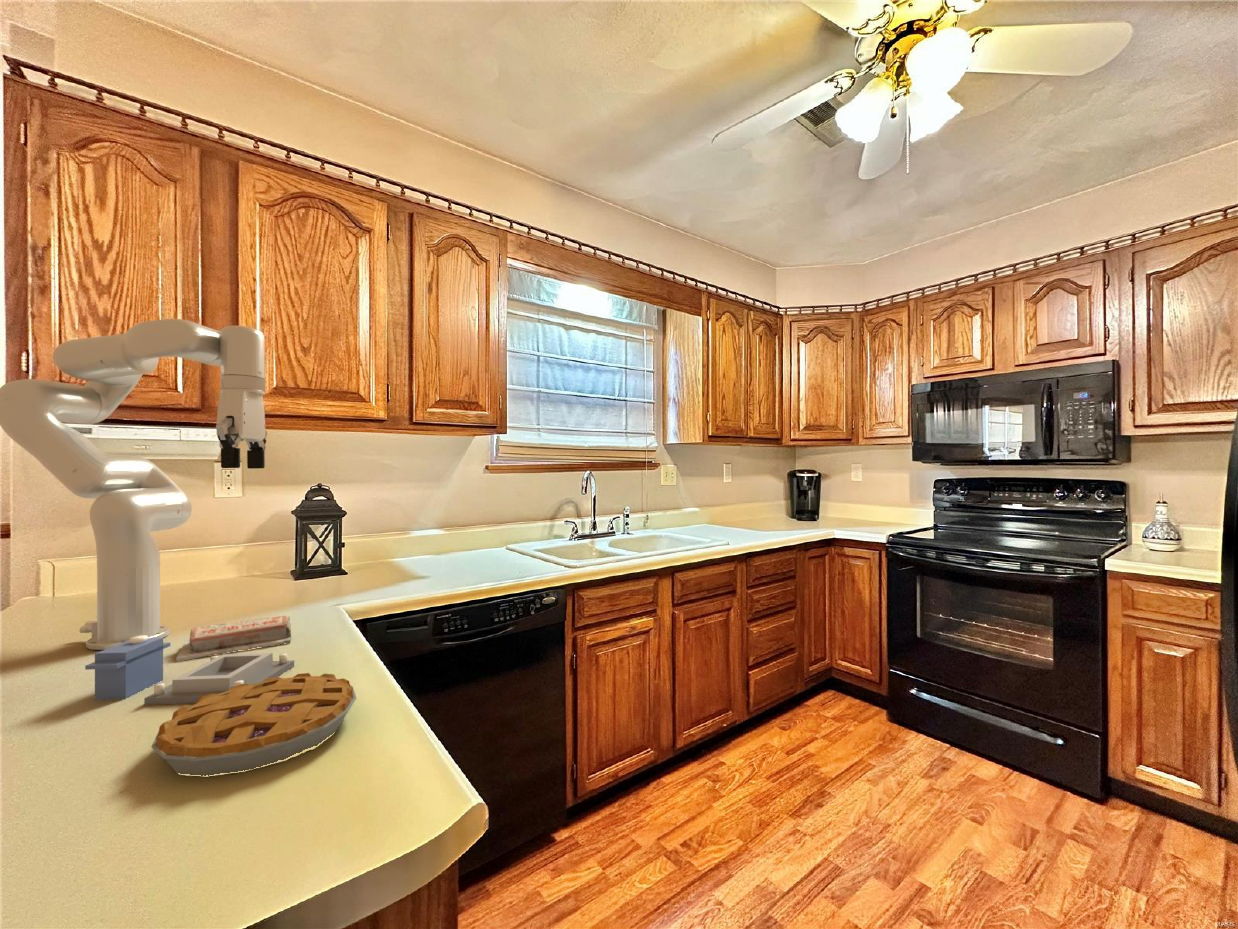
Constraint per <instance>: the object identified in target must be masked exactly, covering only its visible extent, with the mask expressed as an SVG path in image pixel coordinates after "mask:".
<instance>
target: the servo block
mask: <svg viewBox="0 0 1238 929" xmlns="http://www.w3.org/2000/svg"><path fill="white" fill-rule="evenodd" d="M169 647H171V642H164V637H163V638H148V635H140V636H135V637H132V638H130V639H129V641H127V642H124V643H122V644H119V645H116V646H114V647H111V648H108V649H106V650H99V651H97V652H95V653H94V662H91V663H89V664H86V665H84V666H85V668H84V670H85V671H86V670H94V701H110V699H115V700H127V699H129V698H131V697H133V696H135V695H137V694H139V693H141V692H143V691H145V690H146V689H145V688H147V689H149V688H151V687H153V686H154V685H153V684H155V685H156V683H157V684H159V683H161V682H164V649H166V648H169ZM160 681H161V682H160ZM158 682H159V683H158ZM152 685H153V686H152ZM150 686H151V687H150ZM144 689H145V690H144ZM140 691H141V692H140ZM138 692H139V693H138ZM132 695H133V696H132ZM130 696H131V697H130ZM126 698H127V699H126Z"/></svg>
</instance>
